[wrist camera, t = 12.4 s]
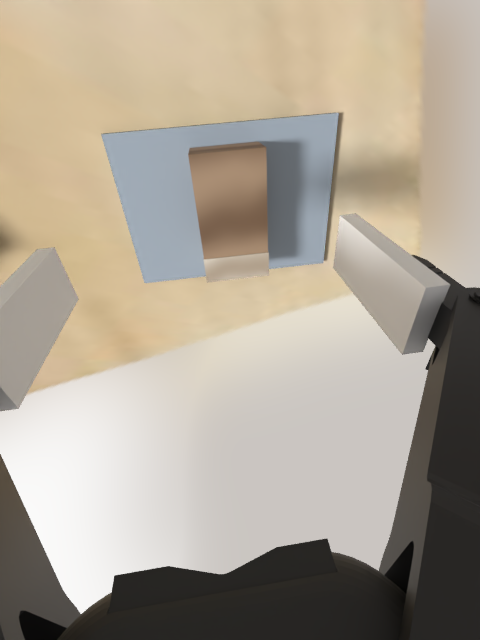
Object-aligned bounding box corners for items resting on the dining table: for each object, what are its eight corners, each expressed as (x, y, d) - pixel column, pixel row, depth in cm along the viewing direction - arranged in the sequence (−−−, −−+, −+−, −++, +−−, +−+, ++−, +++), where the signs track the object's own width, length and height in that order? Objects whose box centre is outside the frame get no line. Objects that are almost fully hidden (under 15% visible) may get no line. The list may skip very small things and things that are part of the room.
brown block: (188, 147, 26) (187, 155, 23) (258, 141, 26) (267, 147, 23) (206, 264, 33) (207, 282, 29) (262, 257, 33) (269, 275, 30)
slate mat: (145, 280, 34) (144, 283, 33) (103, 133, 25) (101, 134, 25) (321, 260, 35) (323, 262, 34) (336, 112, 26) (338, 112, 26)
